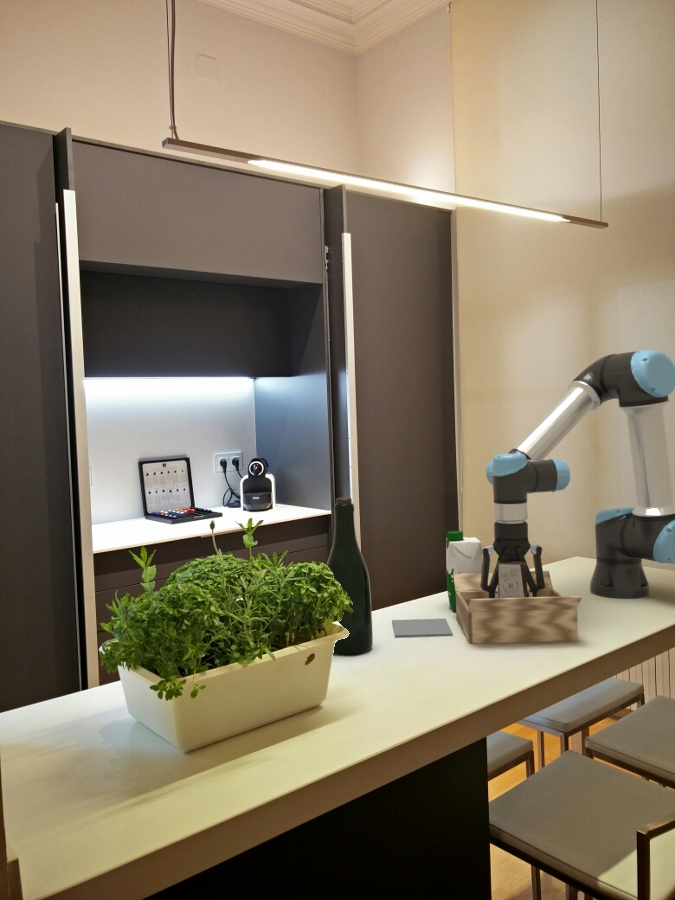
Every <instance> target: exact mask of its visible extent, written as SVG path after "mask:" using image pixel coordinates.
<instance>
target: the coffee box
mask: <svg viewBox="0 0 675 900" xmlns="http://www.w3.org/2000/svg"><path fill="white" fill-rule="evenodd" d="M526 562H527V561H526ZM526 562H521V561H509V562H506V563H500V562H499V561H498V594H499V598H523V597H527V565H528V563H527V564H526Z"/></svg>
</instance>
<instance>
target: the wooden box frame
mask: <svg viewBox="0 0 675 900" xmlns="http://www.w3.org/2000/svg"><path fill="white" fill-rule="evenodd" d="M493 573H494V571H493V572H489V577H488V586H489V584H490V581H491V579H492V576H493ZM530 573H531V575H532V578H533V580H534V583H535V584H537V580H536V573H535V570H533V571H532V570H530ZM543 576H544V583H545V588H544V589H540V590H538V592H537V597H523V598H490V599H489V593H488V592H487V591H483V590H482V588H481V587H480V584H481V573H461V574H453V577H454V584H455V591H456V613H455V616H456V618H455V621H456V622H457V624H458V626H459V627H460V630H461V631H462V633H463V635H464V637H465V639H466V641H467V643H468V644H472V645H473V644H501V643H503V644H505V643H534V642H535V643H537V642H539V643H541V642H569V641H570V642H575V641H577V642H578V641H579V637H578V636H579V635H578V633H579V632H578V628H579V627H578V608H579V607H580V603H581V601H582V598H583V596H582V595H564V596H563V595H561V594H560V593H559V592H557V590H556V589H554V586H553V583H552V578H551V574H550V570H543ZM527 590H530V588H529V586H528V583H527ZM496 591H497V593H498V585H497V588H496Z"/></svg>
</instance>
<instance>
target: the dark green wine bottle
mask: <svg viewBox="0 0 675 900" xmlns="http://www.w3.org/2000/svg"><path fill="white" fill-rule="evenodd" d="M333 506H334V507H333V512H334V513H333V514H334V535H333V542H332V546H331V550H330V552H329V556H328V560H327V561H326V565H327V566H328V567H329V568H330V569H331V570H332V572H333V574H334V578H335V579H336V580H337V581H338V582H339V583H340V584H341V585H342V587H343V588H344V590H345V591H346V592H347V593H348V595H349V597H350V599H351V600H352V602H353V606H354V612H353V613H352V614H351V613H348V612H345V613H344V615H343V618H342V620H341V621H340V622H339V623H340V624H341V625H342V626H343V627H344V628H346V629H347V630H348V631H349V633H350V634H349V636H348V637H347V638H345V639H341V640H338V641H337V642H336V643H335V647H334V653H333V654H334V655H341V656H353V655H355V656H356V655H361V654H365V653H367V652H369V651H370V650H371V649H372V648H373V646H374V645H373V643H374V641H373V640H374V639H373V638H374V637H373V636H374V635H373V616H372V615H373V614H372V596H371V595H372V594H371V583H370V574H369V570H368V566H367V564H366V561H365V559H364V556H363V554H362V552H361V549H360V546H359V543H358V539H357V535H356V534H357V533H356V525H355V524H356V523H355V506H354V503H352V498H351V497H338V498H336V499H335V504H334V505H333Z"/></svg>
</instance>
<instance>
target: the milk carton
mask: <svg viewBox="0 0 675 900" xmlns="http://www.w3.org/2000/svg"><path fill="white" fill-rule="evenodd" d="M445 539H446V540H445V541H446V543H445V544H446V546H445V551H446V553H445V554H446V555H445V557H446V560H445V561H446V563H445V564H446V565H445V567H446V588H447V589H446V590H447V596H448V603H449V607H450V608H451V611H452V613H453V612H456V591H455V584H454V577H453V574H461V573H482V563H483V555H482V551H481V548H482V541H480V539H478V538H477V537H466V536H464V531H462V530H451V531H447V532H446V538H445Z"/></svg>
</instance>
